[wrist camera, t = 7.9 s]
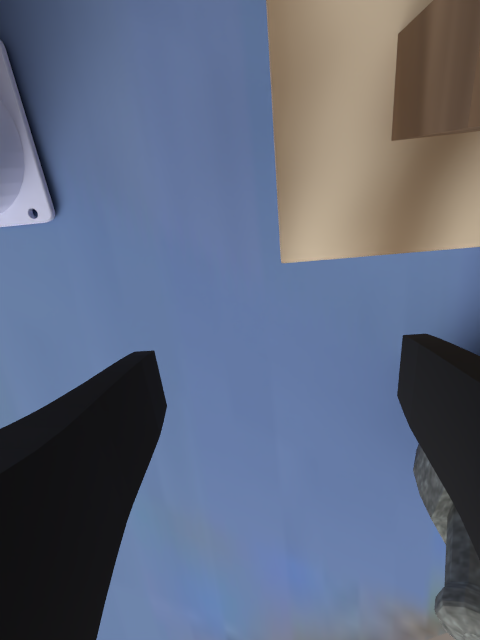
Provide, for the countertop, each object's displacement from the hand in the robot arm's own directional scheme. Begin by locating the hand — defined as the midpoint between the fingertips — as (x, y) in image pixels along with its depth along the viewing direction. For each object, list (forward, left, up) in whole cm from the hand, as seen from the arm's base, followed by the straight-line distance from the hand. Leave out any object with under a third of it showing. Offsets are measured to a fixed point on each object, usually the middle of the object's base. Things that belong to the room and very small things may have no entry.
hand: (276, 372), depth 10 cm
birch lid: (+6, +7, -6) cm, 11 cm away
